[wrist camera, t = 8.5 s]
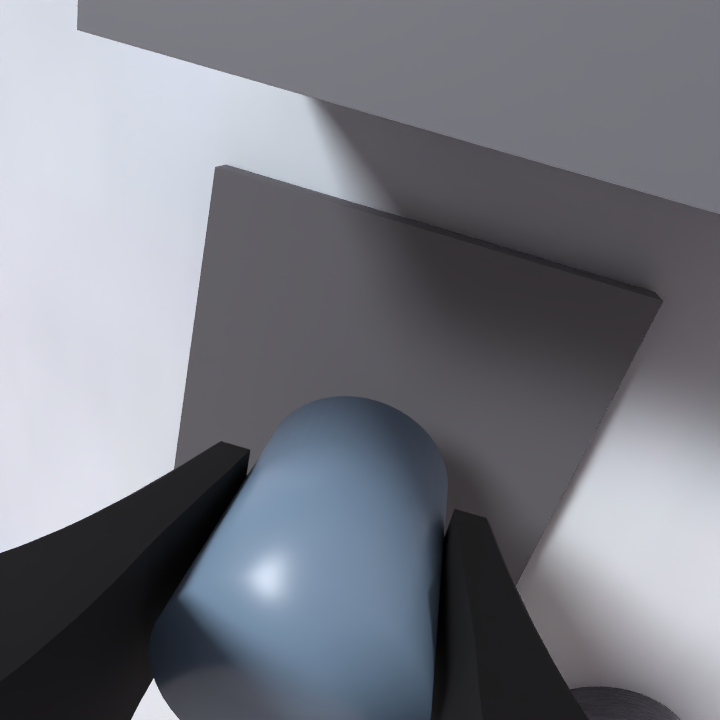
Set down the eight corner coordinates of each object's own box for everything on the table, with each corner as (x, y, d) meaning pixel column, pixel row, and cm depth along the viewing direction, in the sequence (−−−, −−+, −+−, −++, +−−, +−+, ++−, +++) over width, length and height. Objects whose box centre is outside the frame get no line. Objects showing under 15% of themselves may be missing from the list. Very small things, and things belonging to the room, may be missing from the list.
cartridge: (488, 474, 12) (495, 700, 7) (374, 580, 13) (324, 818, 9) (329, 358, 11) (233, 522, 7) (234, 483, 13) (106, 680, 9)
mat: (654, 292, 13) (663, 300, 12) (496, 606, 17) (496, 622, 16) (226, 164, 13) (215, 167, 13) (177, 498, 17) (168, 510, 17)
